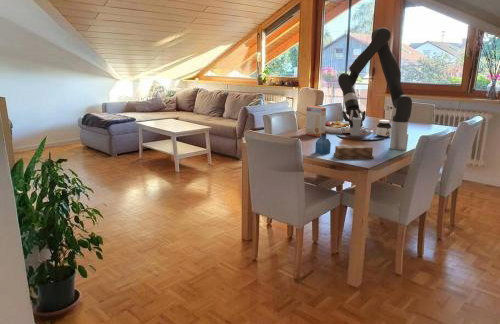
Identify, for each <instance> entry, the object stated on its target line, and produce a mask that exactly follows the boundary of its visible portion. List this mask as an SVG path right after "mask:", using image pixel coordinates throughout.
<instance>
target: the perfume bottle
mask: <svg viewBox="0 0 500 324" xmlns="http://www.w3.org/2000/svg"><path fill="white" fill-rule="evenodd" d="M327 136H328V135H327V132H325V133H321V137H318V139H317V140H316V141H315V148H314V149H315V151H314V152H315V154H319V155H328V154H331V146H332V145H331V144H332V143H331V141H330V140H329V138H327Z"/></svg>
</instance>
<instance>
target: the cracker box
mask: <svg viewBox="0 0 500 324" xmlns="http://www.w3.org/2000/svg"><path fill="white" fill-rule="evenodd" d="M305 113H306V114H305V135H307V136H312V137H318V138H321V133H326V132H325V123H326V121H327V119H326V118H327V107H322V106H315V105H308V106H306V112H305Z"/></svg>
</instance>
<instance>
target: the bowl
mask: <svg viewBox="0 0 500 324" xmlns="http://www.w3.org/2000/svg"><path fill="white" fill-rule="evenodd" d="M346 126H349V122H346V121H339V120H337V121H328V120H326V123H325V133H329V134H334V135H335V134H336V135H342V134H341V127H346Z"/></svg>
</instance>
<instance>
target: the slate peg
mask: <svg viewBox="0 0 500 324" xmlns="http://www.w3.org/2000/svg"><path fill="white" fill-rule="evenodd" d="M352 122H353V127H352V128H351V127H350V134H349V135H351V136H361V129H362V127H361V119H360V118H352Z"/></svg>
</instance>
